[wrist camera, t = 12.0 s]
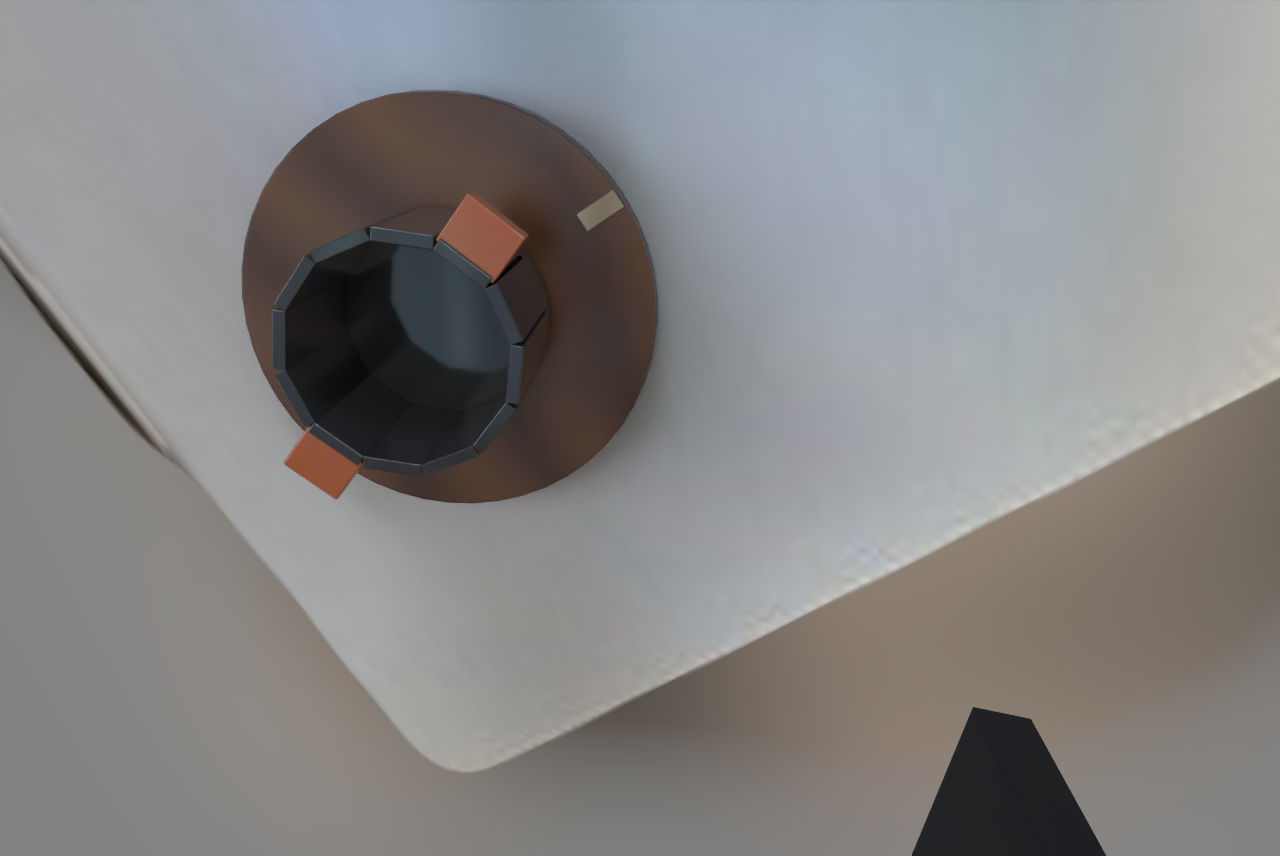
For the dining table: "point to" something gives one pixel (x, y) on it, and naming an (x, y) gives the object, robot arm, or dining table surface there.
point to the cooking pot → (409, 342)
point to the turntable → (557, 245)
